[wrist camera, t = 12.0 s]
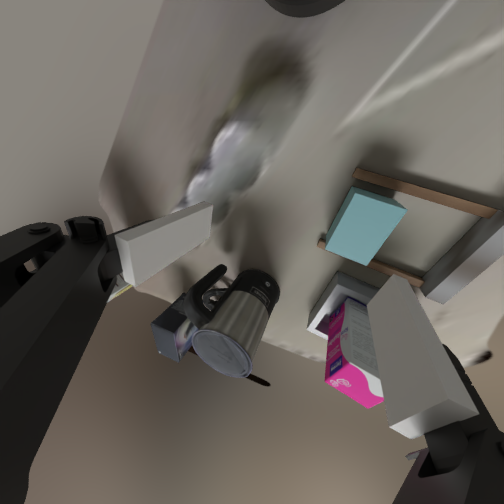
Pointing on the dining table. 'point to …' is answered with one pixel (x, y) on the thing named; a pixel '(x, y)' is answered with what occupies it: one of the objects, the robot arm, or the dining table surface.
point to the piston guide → (460, 255)
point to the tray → (337, 301)
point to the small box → (173, 331)
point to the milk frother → (230, 318)
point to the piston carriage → (363, 225)
